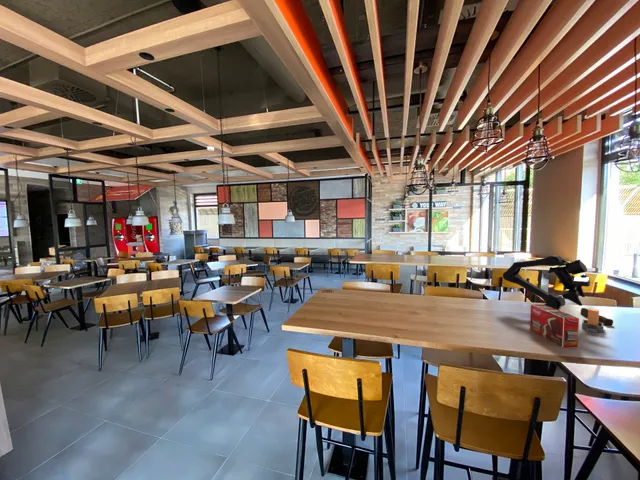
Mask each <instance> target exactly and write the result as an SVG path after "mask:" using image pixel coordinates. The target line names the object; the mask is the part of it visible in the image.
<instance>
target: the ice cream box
mask: <svg viewBox="0 0 640 480" xmlns="http://www.w3.org/2000/svg"><path fill="white" fill-rule="evenodd" d="M559 310H560V309H559ZM559 310H556V309H554V308H551V307H549V306H546V305H544V304H542V303H541V304H539V303H538V304H534V303H533V304H530V315H529V316H530V317H529V330H530V331H532V332H534V333H536V334H537V335H539V336H541V337H543V338H545V339H547V340H548V341H550V342H552V343H553V342H554V343H553V344H555V343H556V344H555V345H557V344H558V346H559V345H560V346H559V347H561V346H562V347H561V348H569V347H578V346H579V345H578V344H579V327H580V325H579V324H580V318H578V317H576V316H574V315H571V314H569V313H566V312H564V311H561V310H560V311H559ZM578 348H579V347H578Z"/></svg>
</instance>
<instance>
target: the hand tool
mask: <svg viewBox="0 0 640 480" xmlns="http://www.w3.org/2000/svg"><path fill="white" fill-rule="evenodd" d="M588 309H589V308H586V307H582V308H580V315H582V316H584V317H585V318H588ZM598 322H600V323H603V326H608V327H610V326H613V323H614V320H613V319H611V318H607V317H606V316H604V315H600V314H599V320H598Z"/></svg>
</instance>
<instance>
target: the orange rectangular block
mask: <svg viewBox="0 0 640 480" xmlns="http://www.w3.org/2000/svg"><path fill="white" fill-rule="evenodd" d="M587 309H588V317H587V320H588V322H587V324H592V325H597V326H598V322H599V321H598V320H599V315H600V309H595V308H587Z"/></svg>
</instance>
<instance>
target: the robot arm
mask: <svg viewBox="0 0 640 480" xmlns="http://www.w3.org/2000/svg"><path fill="white" fill-rule="evenodd" d="M538 266H542V267H545V266H546V267H549V268H548V272H547V273H548V274H551V273H553V274H554V276H556V278H557V279H558V283H559V284H561V285H562V286H563V292H562V294H561V295H560V294H558V293H556V292H555V291H553V292H547V291H546V290H544V289H542V288H540V287H538V286H537V285H535V284H534V283H532V282H530V281H528V280H526V279H524V278H523V277H522V276H521V275H520V272H521V269H522V268H530V267H538ZM587 272H588V268H587V266H586V264H585V263H584V262H582V261H581V259H576V260H573V261H570V262H569V261H567V260H565V259H563V258H562V256H561V255H557V254H555V255H550V256H546V257H542V258H539V259H532V260H531V259H530V260H524V261H515V262H513V263H512V264H511V266H510V267H509V268H507V270H506V271H505V272H502V277H503V278H502V279H503V280H505V281H507V282H509V283H512V284H516V285H518V286H519V287H522V288H524V289H525V290H527V291H529V292H530V293H532V294H534V295H536V296H537V297H539V298H540V299H542V300H543V302H544V304H543V305H546V306H549V307H551V308H554V309H556V310H559V311H561V309H562V308H563V307H564V306H565V305H566V300H567V301H570V302H573V304H576V305H578V306H579V307H581V306H583V303H582V301H581V300H580V298H579V297H581V298H585V297H586V295H585V292H584V290H583V289H584V288H583V287H586V288H587V287H590V285H591V278H590V277H589V276H588V275H587V274H586V273H587ZM578 274H579V275H580V274H581V275H580V276H575V275H578Z"/></svg>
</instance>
